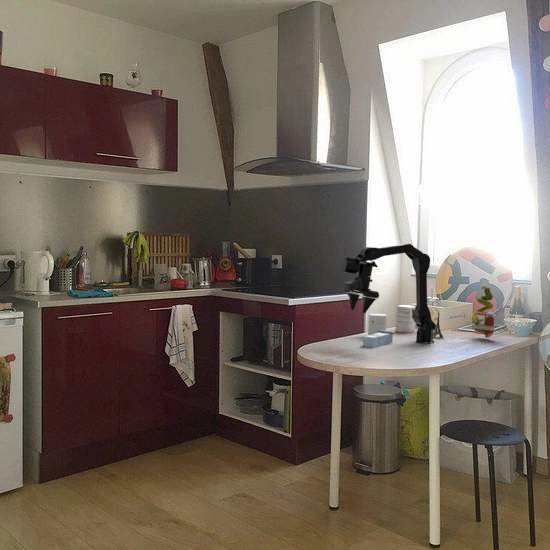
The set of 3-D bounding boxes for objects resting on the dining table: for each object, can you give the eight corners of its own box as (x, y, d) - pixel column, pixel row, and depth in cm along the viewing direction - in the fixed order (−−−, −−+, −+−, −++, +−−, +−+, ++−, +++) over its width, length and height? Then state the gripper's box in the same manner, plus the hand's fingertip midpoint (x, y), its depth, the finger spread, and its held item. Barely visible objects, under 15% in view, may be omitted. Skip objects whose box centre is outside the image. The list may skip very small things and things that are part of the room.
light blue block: (378, 346, 272) (379, 336, 271) (373, 347, 268) (373, 337, 267) (368, 344, 275) (368, 335, 274) (362, 345, 271) (363, 336, 270)
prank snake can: (465, 336, 304) (468, 284, 303) (482, 336, 308) (485, 284, 306) (482, 341, 294) (485, 287, 292) (499, 340, 298) (502, 287, 296)
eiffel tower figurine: (416, 337, 301) (418, 309, 300) (428, 335, 308) (429, 308, 307) (444, 342, 291) (446, 313, 290) (456, 340, 298) (457, 311, 297)
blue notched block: (394, 342, 282) (395, 331, 282) (381, 346, 271) (382, 335, 271) (379, 340, 286) (380, 329, 286) (366, 344, 276) (366, 332, 275)
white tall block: (401, 329, 321) (402, 304, 320) (415, 331, 317) (416, 306, 316) (394, 331, 315) (396, 305, 314) (409, 332, 311) (410, 307, 310)
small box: (384, 336, 298) (386, 314, 297) (385, 338, 292) (386, 315, 291) (367, 335, 299) (368, 313, 298) (368, 337, 293) (369, 314, 292)
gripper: (337, 271, 281) (331, 305, 281) (361, 275, 264) (354, 312, 265) (358, 274, 286) (352, 308, 286) (382, 279, 269) (376, 315, 270)
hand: (358, 311), depth 277 cm, fingers open, 9 cm apart
